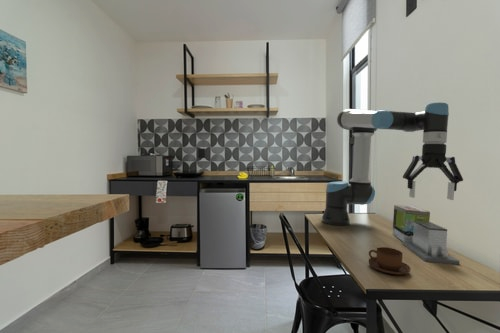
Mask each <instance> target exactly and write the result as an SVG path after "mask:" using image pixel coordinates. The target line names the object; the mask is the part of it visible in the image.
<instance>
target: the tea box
mask: <svg viewBox="0 0 500 333" xmlns="http://www.w3.org/2000/svg"><path fill="white" fill-rule="evenodd" d="M430 218H431V212H430V211H429V210H427V209H426V210H425V209H423V208H420V207H417V206H411V205H399V204H394V206H393V218H392V235H393V236H395V238H397V239H399V240H400V241H402V243H403V242H412V236H413V231H414V221H423V222H430V221H431V220H430Z"/></svg>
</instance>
